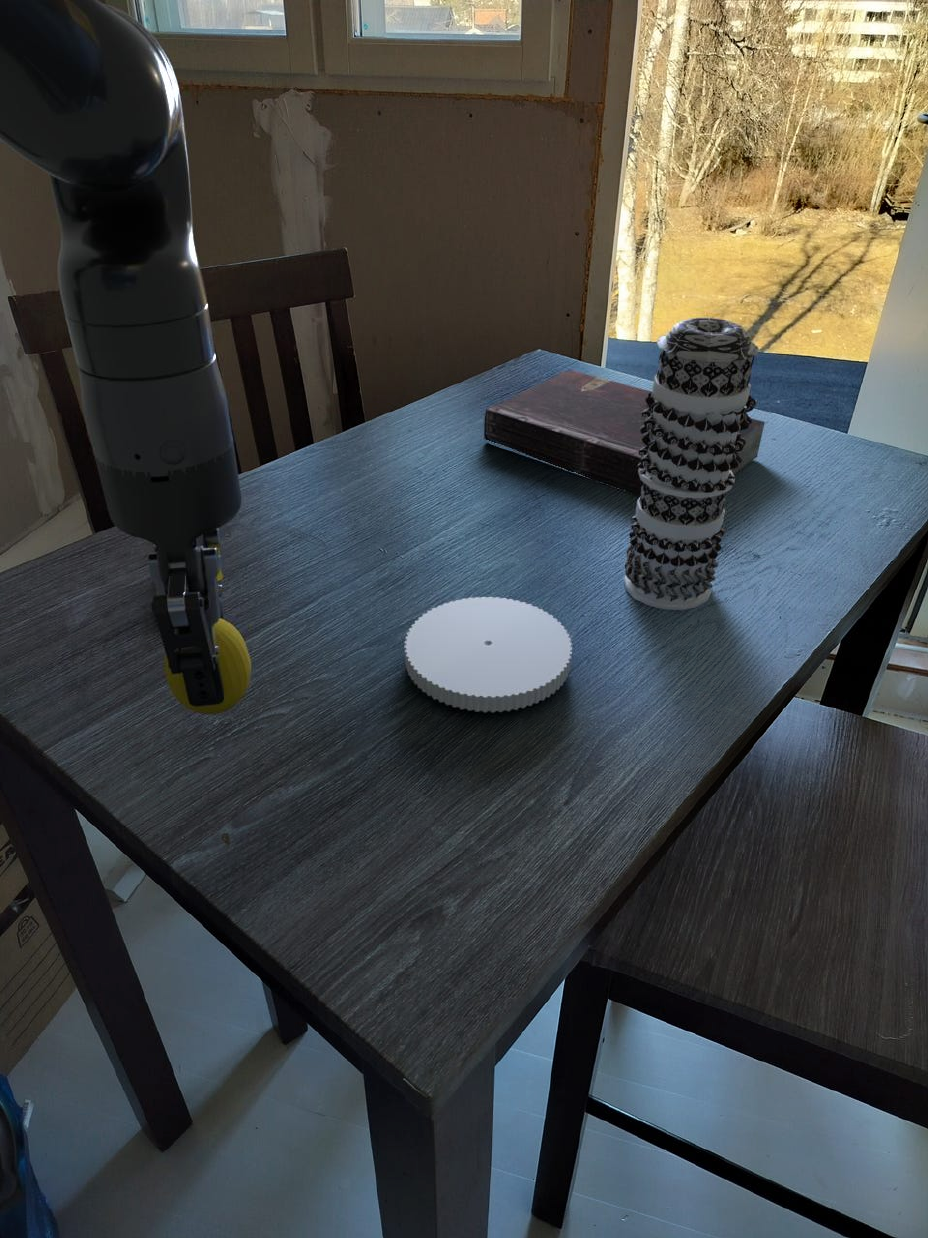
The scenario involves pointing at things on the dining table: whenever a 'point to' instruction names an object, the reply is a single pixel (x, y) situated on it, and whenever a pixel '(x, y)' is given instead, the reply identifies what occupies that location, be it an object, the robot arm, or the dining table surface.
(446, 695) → the white gear wheel
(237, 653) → the lemon
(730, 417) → the decorative candle
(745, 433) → the hardback book
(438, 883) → the dining table surface
